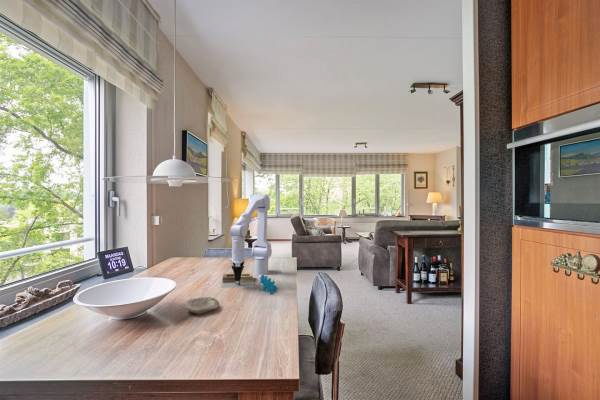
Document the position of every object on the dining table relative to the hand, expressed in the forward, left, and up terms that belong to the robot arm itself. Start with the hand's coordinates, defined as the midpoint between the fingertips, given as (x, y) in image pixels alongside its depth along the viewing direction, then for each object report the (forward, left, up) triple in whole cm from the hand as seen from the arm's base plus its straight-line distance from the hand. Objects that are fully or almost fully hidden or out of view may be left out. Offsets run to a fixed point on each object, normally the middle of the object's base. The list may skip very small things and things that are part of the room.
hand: (238, 278), depth 142 cm
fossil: (+28, -12, -4) cm, 31 cm away
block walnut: (-8, -4, -3) cm, 9 cm away
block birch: (-8, +4, -3) cm, 9 cm away
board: (-5, 0, -4) cm, 6 cm away
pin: (0, 0, -3) cm, 3 cm away
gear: (+11, +14, -4) cm, 18 cm away
